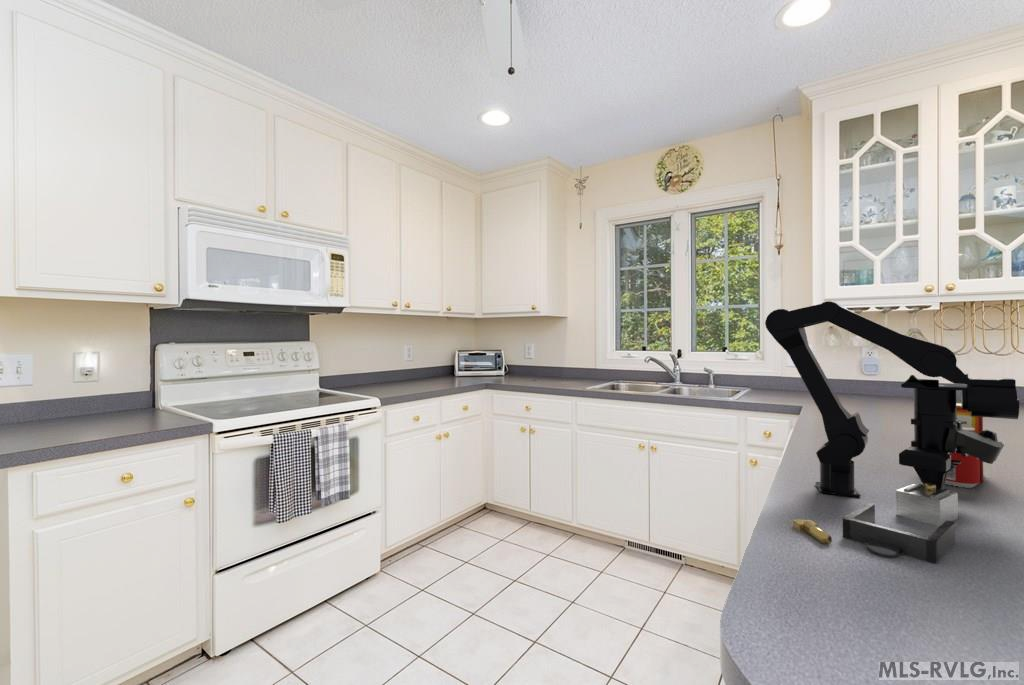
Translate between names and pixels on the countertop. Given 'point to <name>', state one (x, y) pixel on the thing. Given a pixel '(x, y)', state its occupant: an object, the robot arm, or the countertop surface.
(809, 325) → the robot arm
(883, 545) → the bracket
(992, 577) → the countertop surface
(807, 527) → the gold elongated piece
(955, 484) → the beverage can
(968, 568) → the countertop surface
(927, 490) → the block
